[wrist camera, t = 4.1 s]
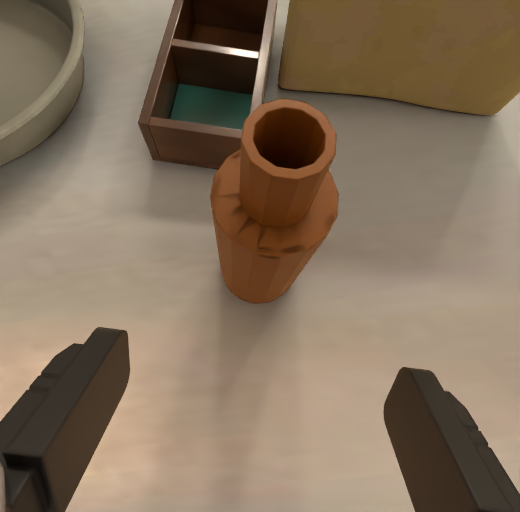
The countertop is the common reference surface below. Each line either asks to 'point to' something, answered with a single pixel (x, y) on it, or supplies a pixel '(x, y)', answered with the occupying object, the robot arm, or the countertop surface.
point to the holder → (207, 79)
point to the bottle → (274, 199)
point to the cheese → (406, 51)
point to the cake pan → (37, 70)
